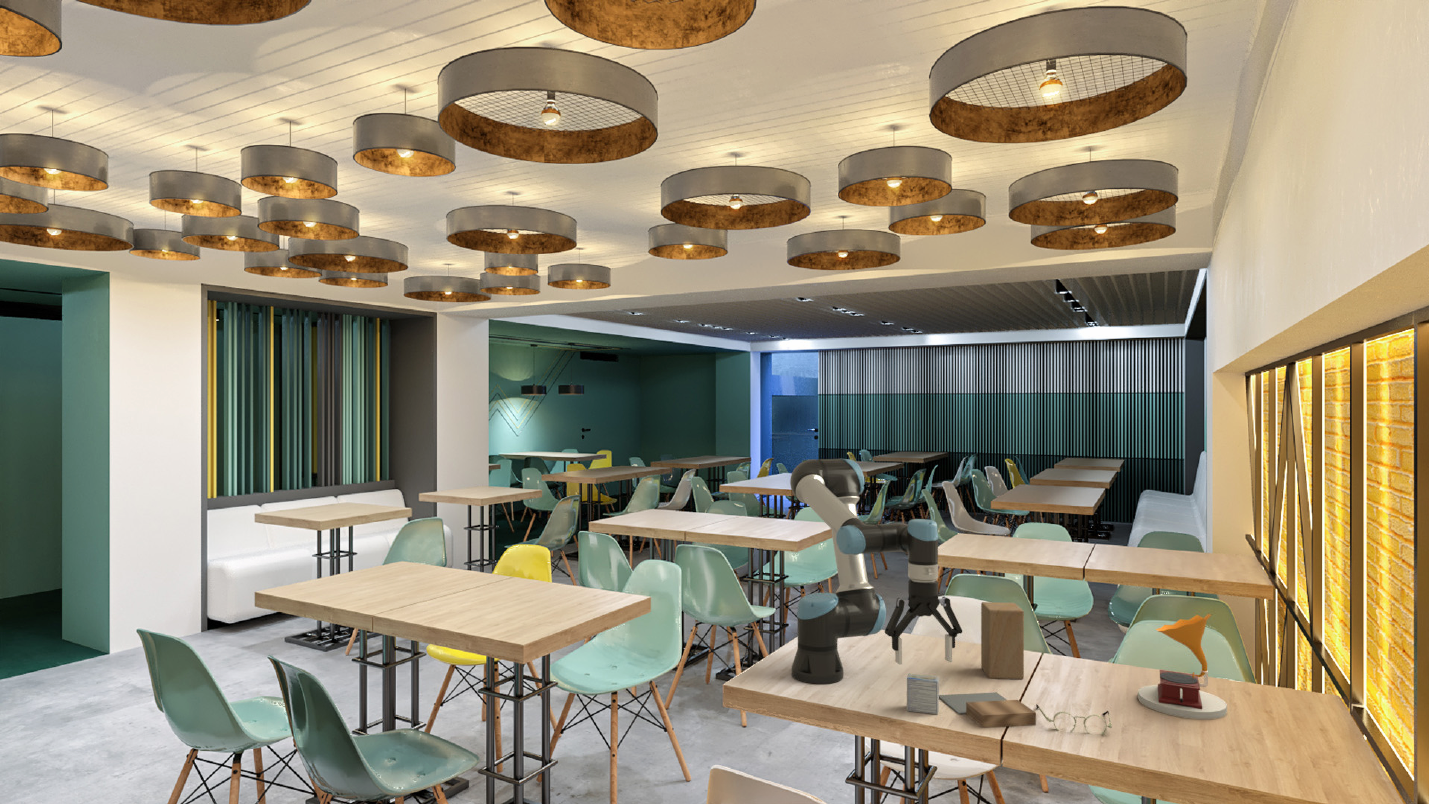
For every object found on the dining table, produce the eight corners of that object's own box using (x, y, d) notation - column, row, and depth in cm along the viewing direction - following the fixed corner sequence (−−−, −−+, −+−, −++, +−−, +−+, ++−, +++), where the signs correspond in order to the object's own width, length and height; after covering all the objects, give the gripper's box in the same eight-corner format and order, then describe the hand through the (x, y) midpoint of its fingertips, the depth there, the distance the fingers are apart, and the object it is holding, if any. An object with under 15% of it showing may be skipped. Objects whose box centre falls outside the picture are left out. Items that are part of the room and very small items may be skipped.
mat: (958, 714, 206) (958, 712, 206) (937, 696, 219) (937, 695, 219) (1020, 711, 209) (1021, 709, 209) (996, 693, 222) (996, 692, 222)
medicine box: (939, 709, 210) (939, 675, 210) (938, 715, 206) (938, 681, 206) (908, 705, 213) (908, 672, 213) (906, 711, 208) (906, 677, 208)
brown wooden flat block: (982, 727, 198) (982, 715, 198) (966, 714, 207) (966, 702, 207) (1035, 724, 200) (1035, 712, 200) (1017, 711, 209) (1017, 699, 209)
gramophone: (1223, 699, 218) (1223, 607, 218) (1230, 725, 200) (1230, 624, 200) (1138, 687, 228) (1138, 598, 228) (1137, 710, 210) (1137, 614, 210)
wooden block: (1014, 668, 243) (1014, 602, 243) (1024, 679, 233) (1024, 610, 234) (980, 667, 244) (980, 601, 244) (988, 678, 234) (988, 609, 235)
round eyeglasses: (1042, 731, 197) (1042, 710, 197) (1034, 709, 212) (1034, 690, 212) (1118, 738, 193) (1118, 717, 193) (1105, 715, 207) (1105, 696, 207)
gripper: (882, 583, 204) (882, 668, 204) (975, 581, 208) (975, 664, 207) (872, 578, 211) (872, 659, 211) (962, 575, 215) (962, 655, 214)
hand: (923, 662), depth 209 cm, fingers open, 13 cm apart
